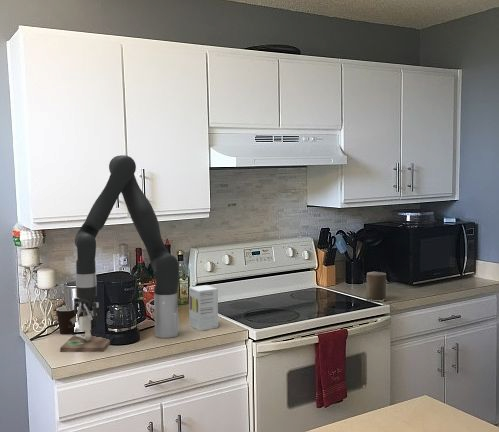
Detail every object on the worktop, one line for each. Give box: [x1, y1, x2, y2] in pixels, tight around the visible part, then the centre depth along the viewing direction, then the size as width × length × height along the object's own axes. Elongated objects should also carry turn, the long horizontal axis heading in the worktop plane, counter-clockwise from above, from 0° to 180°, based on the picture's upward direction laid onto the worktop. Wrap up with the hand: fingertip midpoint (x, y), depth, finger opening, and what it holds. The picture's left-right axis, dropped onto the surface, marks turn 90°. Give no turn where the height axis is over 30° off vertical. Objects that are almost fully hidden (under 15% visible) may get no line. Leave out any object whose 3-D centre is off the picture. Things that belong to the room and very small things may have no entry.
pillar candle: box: [365, 270, 387, 300], centre depth 292 cm, size 10×10×15 cm
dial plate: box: [59, 334, 111, 353], centre depth 221 cm, size 16×16×2 cm
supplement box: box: [188, 284, 219, 331], centre depth 245 cm, size 10×9×17 cm
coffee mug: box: [56, 305, 76, 335], centre depth 239 cm, size 12×9×10 cm
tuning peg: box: [75, 314, 93, 341], centre depth 223 cm, size 8×6×9 cm
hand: (87, 327), depth 221 cm, fingers open, 7 cm apart
